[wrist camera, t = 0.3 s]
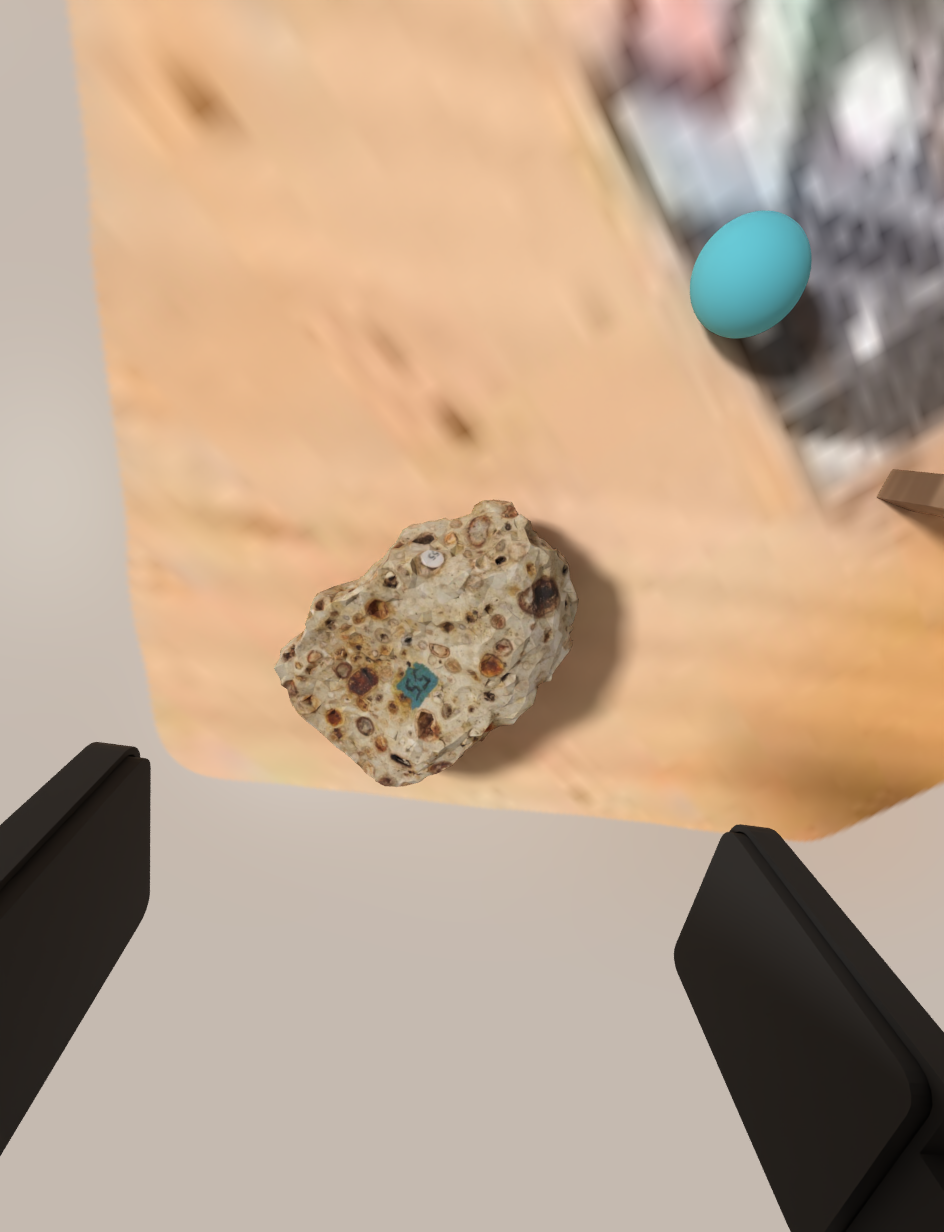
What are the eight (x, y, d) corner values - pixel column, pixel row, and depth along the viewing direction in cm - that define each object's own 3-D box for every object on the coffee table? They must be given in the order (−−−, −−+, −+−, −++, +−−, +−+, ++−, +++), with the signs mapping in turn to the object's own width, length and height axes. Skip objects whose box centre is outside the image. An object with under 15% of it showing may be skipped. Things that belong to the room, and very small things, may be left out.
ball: (700, 215, 32) (757, 169, 26) (788, 256, 32) (861, 220, 27) (656, 324, 33) (700, 303, 28) (740, 359, 34) (799, 347, 29)
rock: (418, 766, 44) (375, 844, 35) (299, 634, 44) (221, 677, 34) (622, 611, 38) (637, 653, 29) (488, 454, 38) (458, 444, 28)
